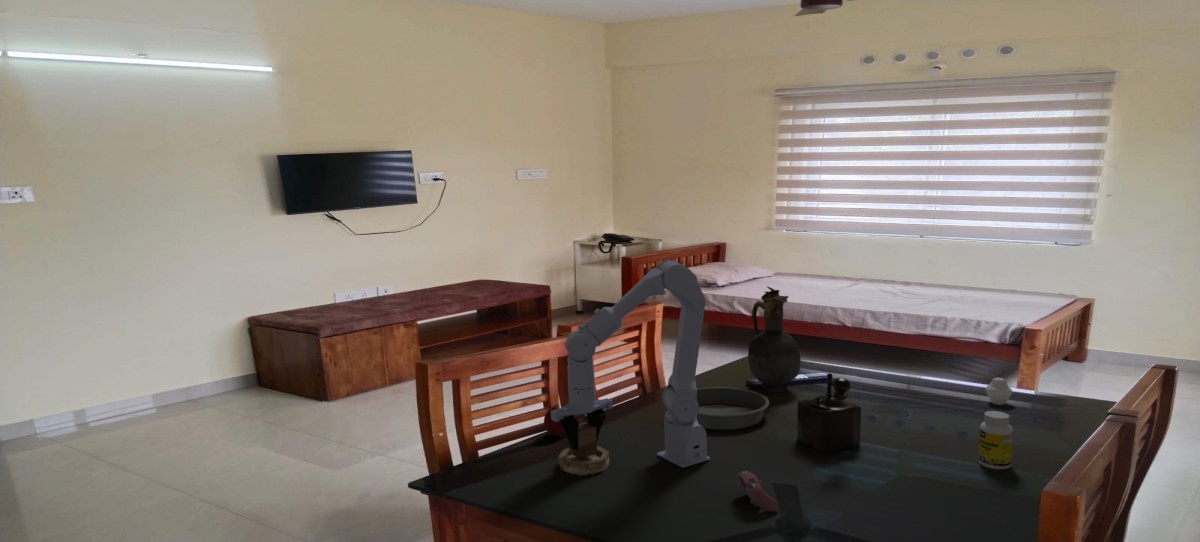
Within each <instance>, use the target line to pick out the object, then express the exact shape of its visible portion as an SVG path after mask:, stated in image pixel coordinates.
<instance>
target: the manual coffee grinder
mask: <svg viewBox="0 0 1200 542" xmlns="http://www.w3.org/2000/svg"><path fill="white" fill-rule="evenodd" d="M833 377H834V376H833V374H832V373H831V372H828V373H827V375H826V380H825V383H827V391H826V394H821V395H818V396H816V397H814V398H809V399H804V400H802V399H801V400H798V401H797V438H796V439H797V440H798V441H799V440H800V442H801V441H802V443H803V442H804V443H803V444H805V445H807V446H809V447H810V448H813V447H814V448H813V449H816V450H817V451H820V452H824V453H833V452H834V453H836V452H839V451H840V450H841V451H844V450H849V448H850V449H853V447H854V448H857V447H859V445H860V446H861V430H862V429H861V428H862V427H861V426H862V425H861V424H862V423H861V421H862V407H861V406H859V405H857V404H855V403H852V402H849V401H846V399H848V398H849V397H848V396H849V394H848V392H849V390H851V386H852V384H851V382H850V380H849V379H847V378H844V377H837V378H834V379H832V378H833ZM832 387H833V389H834V392H833V393H832ZM856 446H857V447H856ZM835 451H836V452H835ZM841 451H840V452H841Z"/></svg>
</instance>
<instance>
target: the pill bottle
mask: <svg viewBox="0 0 1200 542" xmlns="http://www.w3.org/2000/svg"><path fill="white" fill-rule="evenodd" d="M983 415H984V416H983V420H984V421H983V422H981V424H980V425H979V438H978V462H979V464H980V465H981V466H983V467H985V468H988V469H991V470H999V471H1000V470H1006V469H1009V468H1011V467H1012V461H1013V460H1012V457H1013V440H1014V439H1013V438H1014V429H1013V427H1012V426H1011V425H1010V424H1009V423H1010V415H1009V414H1008V413H1006V412H1003V411H999V410H998V411H997V410H988V411H985V412H984V414H983Z"/></svg>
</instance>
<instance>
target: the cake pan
mask: <svg viewBox="0 0 1200 542" xmlns="http://www.w3.org/2000/svg"><path fill="white" fill-rule="evenodd" d="M697 401H698V404H699V412H698V415H697V421H698V423H699V424H700V425H701V426H702V427H703V428H704V429H707V430H738V429H744V428H748V427H753V426H755V425H757V424H760V422H761V421H762V419H763V417H764V413H765V410H766V409H768V407H769V404H770V400H769V399H768V397H767V396H765V395H763V394H762V393H759V392H757V391H754V390H750V389H745V388H738V387H731V386H730V387H729V386H727V387H726V386H707V387H698V388H697ZM710 404H715V405H716V404H728V405H729V404H730V405H739V406H738V407H726V408H724V407H723V408H717V407H715V408H713V407H712V408H711V407H705V406H701V405H710ZM741 406H742V407H741Z"/></svg>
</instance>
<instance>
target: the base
mask: <svg viewBox="0 0 1200 542" xmlns="http://www.w3.org/2000/svg"><path fill="white" fill-rule="evenodd" d="M557 460H558V464H559V465H558V466H559V467H558V468H559V469H560V470H561V471H562V470H563V471H565V472H567V473H566V474H568V473H571V474H570V475H572V474H577V475H576V476H588V475H587V474H592V475H595V474H594V473H597V474H599V473H598V472H600V473H602V472H604V471H606V470H607V469H608V468H609V467H608V466H610V451H609V450H607V449H605V448H603V447H602V446H598V445H597V454H595V455H591V456H587V457H584V458H580V459H579V458H578V457H576V456H574V455H572V454H571V453H569V447H568V448H564V449H562V451H561V452H560V453H559V454H558V458H557ZM605 469H606V470H605ZM563 471H562V472H563ZM601 471H602V472H601ZM565 472H564V473H565ZM578 474H579V475H578Z"/></svg>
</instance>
